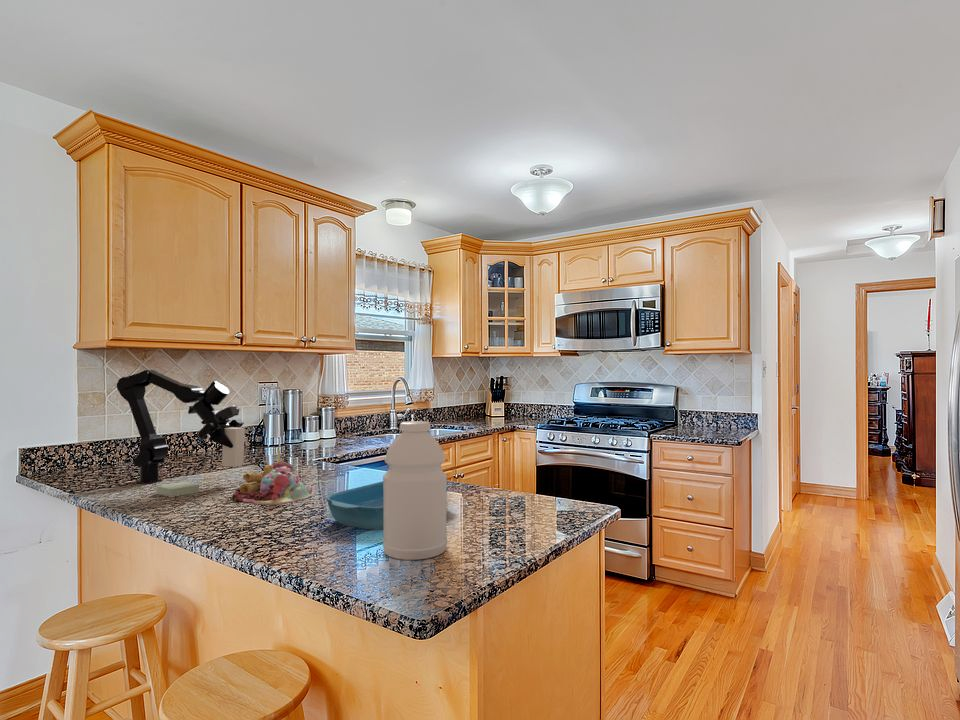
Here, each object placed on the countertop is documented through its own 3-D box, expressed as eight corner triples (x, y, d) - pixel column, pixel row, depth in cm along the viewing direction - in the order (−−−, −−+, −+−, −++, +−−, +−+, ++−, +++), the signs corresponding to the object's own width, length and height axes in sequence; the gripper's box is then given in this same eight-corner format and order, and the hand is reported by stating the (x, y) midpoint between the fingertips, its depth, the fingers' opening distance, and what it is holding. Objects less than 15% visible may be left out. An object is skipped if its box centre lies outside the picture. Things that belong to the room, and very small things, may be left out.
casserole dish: (371, 539, 127) (371, 509, 127) (308, 525, 139) (309, 497, 140) (462, 507, 158) (462, 482, 158) (404, 497, 170) (404, 474, 170)
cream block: (221, 466, 188) (223, 428, 188) (230, 463, 193) (231, 427, 193) (234, 466, 187) (236, 428, 188) (243, 464, 192) (244, 427, 193)
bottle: (447, 540, 126) (447, 419, 127) (446, 560, 112) (446, 425, 113) (387, 540, 125) (387, 419, 126) (377, 561, 112) (378, 425, 112)
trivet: (156, 493, 175) (156, 486, 175) (184, 488, 183) (184, 481, 183) (170, 497, 170) (171, 489, 170) (199, 492, 178) (199, 484, 178)
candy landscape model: (215, 501, 166) (216, 471, 166) (267, 486, 188) (267, 459, 188) (285, 507, 158) (285, 476, 159) (330, 491, 181) (330, 463, 181)
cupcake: (287, 484, 190) (288, 449, 191) (263, 484, 190) (264, 449, 191) (296, 479, 199) (296, 446, 199) (273, 479, 199) (273, 446, 199)
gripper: (206, 399, 182) (236, 433, 180) (239, 397, 201) (266, 427, 199) (185, 422, 183) (214, 456, 181) (219, 418, 202) (246, 448, 200)
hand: (236, 446), depth 190 cm, fingers closed on cream block, 5 cm apart
